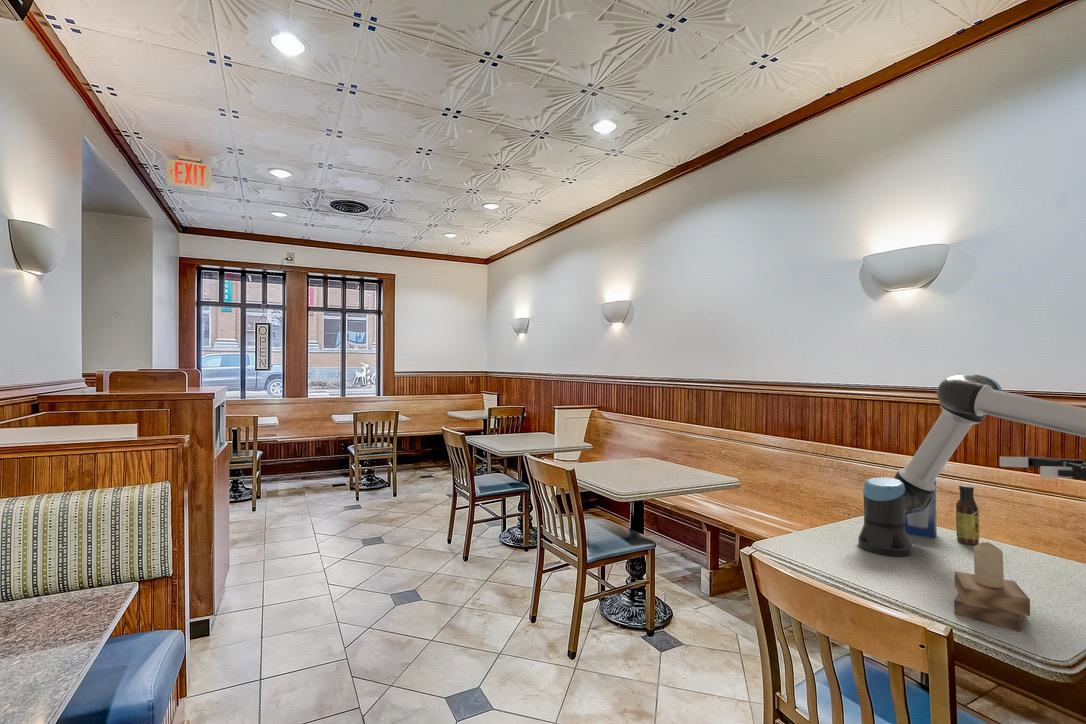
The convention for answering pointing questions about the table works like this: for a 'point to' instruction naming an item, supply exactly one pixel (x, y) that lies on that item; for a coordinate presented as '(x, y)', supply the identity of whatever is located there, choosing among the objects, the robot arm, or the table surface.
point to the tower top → (992, 595)
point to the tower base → (988, 615)
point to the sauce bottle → (967, 516)
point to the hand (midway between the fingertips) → (1019, 466)
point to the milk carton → (923, 520)
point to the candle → (988, 565)
